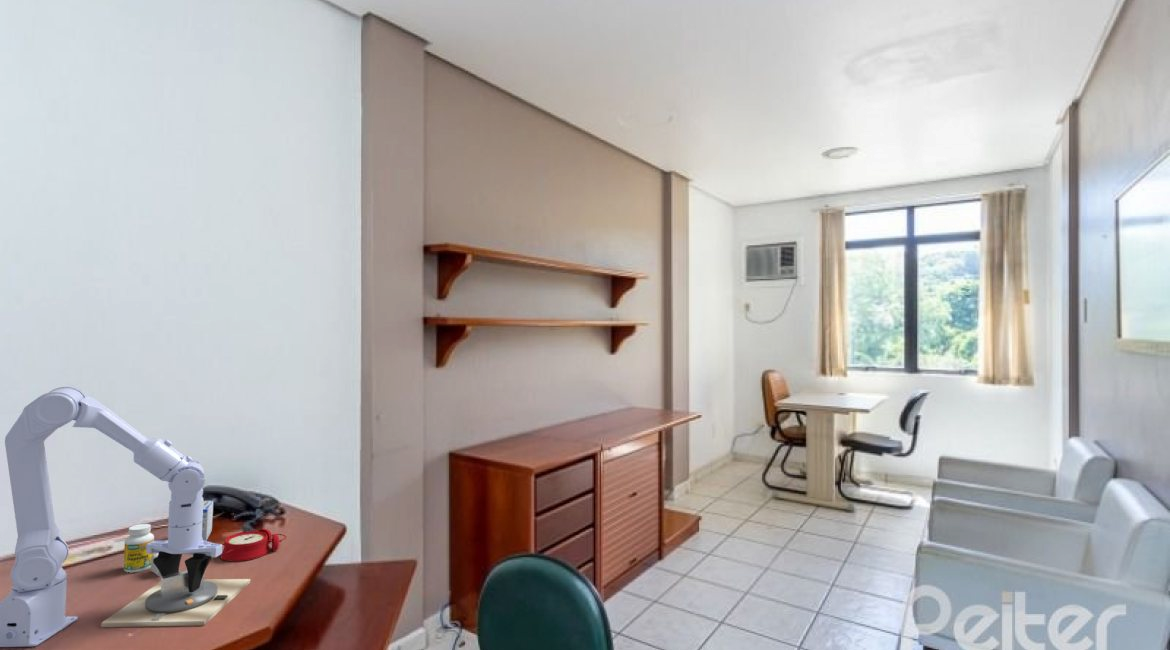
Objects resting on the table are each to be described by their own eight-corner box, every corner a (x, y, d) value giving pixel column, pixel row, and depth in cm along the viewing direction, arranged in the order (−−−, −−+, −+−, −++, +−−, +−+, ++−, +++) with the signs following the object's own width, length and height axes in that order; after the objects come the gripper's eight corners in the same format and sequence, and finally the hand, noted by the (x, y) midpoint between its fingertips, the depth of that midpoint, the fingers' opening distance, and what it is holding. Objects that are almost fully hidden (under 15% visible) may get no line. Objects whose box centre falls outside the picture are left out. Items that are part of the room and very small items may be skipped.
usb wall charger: (171, 566, 132) (172, 549, 132) (183, 575, 128) (184, 557, 128) (150, 572, 128) (151, 554, 128) (162, 581, 124) (163, 562, 124)
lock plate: (204, 625, 107) (204, 618, 107) (101, 627, 105) (101, 620, 105) (250, 582, 125) (250, 577, 125) (162, 583, 123) (163, 577, 123)
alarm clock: (208, 541, 139) (271, 513, 150) (214, 564, 140) (276, 534, 151) (226, 552, 132) (290, 522, 144) (232, 576, 133) (295, 544, 145)
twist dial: (225, 598, 116) (226, 572, 116) (153, 619, 107) (154, 591, 107) (207, 579, 124) (208, 555, 124) (138, 597, 115) (139, 572, 115)
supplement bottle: (154, 561, 134) (155, 521, 134) (152, 570, 129) (153, 528, 129) (124, 566, 131) (126, 524, 131) (121, 575, 126) (123, 532, 126)
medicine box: (192, 533, 152) (193, 501, 152) (212, 531, 154) (213, 499, 154) (186, 544, 145) (187, 510, 145) (206, 542, 147) (208, 508, 147)
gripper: (233, 517, 119) (230, 582, 119) (166, 514, 120) (164, 578, 119) (209, 529, 112) (206, 598, 112) (138, 526, 112) (136, 594, 112)
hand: (182, 589), depth 115 cm, fingers closed on twist dial, 4 cm apart
